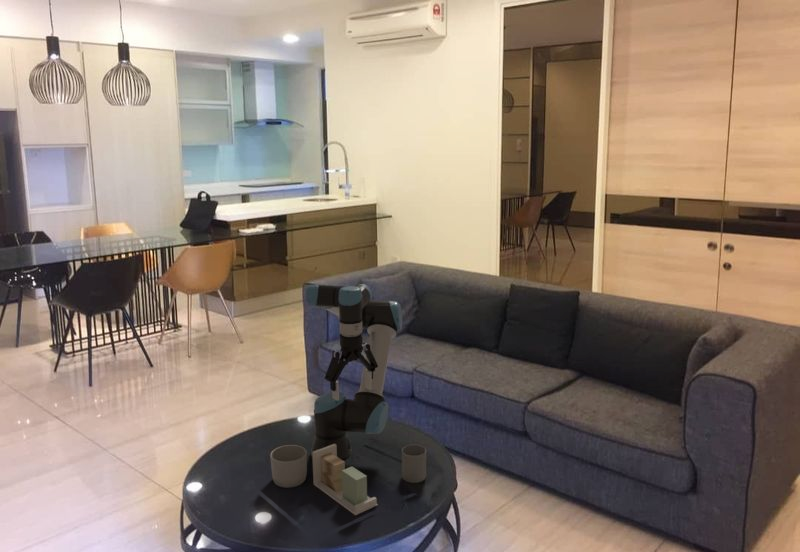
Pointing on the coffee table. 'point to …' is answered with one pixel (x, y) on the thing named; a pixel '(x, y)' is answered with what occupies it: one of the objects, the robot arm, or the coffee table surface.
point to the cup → (413, 463)
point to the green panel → (354, 486)
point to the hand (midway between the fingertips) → (352, 393)
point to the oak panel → (332, 471)
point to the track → (336, 496)
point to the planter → (289, 465)
